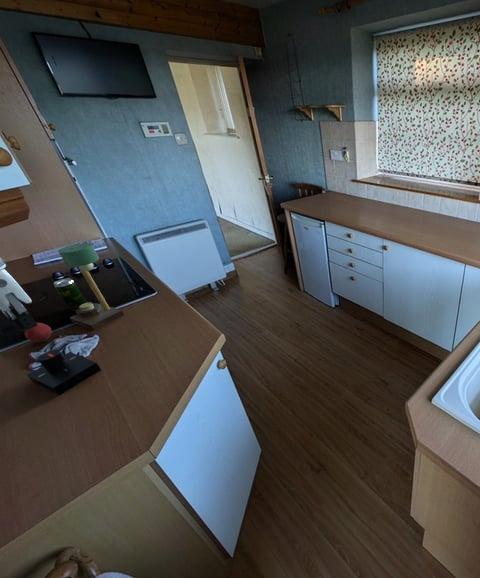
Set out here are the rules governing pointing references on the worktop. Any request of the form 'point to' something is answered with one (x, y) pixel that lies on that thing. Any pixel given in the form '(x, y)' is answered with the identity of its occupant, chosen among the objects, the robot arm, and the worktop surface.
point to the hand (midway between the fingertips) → (27, 327)
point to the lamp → (83, 264)
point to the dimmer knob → (53, 360)
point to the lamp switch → (86, 306)
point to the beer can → (70, 293)
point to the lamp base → (96, 316)
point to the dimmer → (65, 374)
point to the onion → (39, 333)
